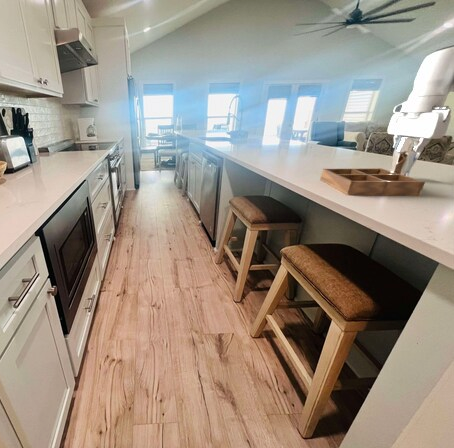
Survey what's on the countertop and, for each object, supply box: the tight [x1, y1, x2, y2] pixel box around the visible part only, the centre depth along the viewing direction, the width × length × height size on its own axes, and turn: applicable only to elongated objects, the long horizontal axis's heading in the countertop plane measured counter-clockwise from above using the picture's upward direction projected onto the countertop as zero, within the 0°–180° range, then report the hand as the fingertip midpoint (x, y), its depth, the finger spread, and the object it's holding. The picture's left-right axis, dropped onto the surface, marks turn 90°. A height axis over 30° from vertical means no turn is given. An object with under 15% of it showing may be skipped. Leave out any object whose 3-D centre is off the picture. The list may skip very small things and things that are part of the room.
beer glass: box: [389, 136, 422, 177], centre depth 86 cm, size 7×7×15 cm
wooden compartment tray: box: [320, 167, 426, 197], centre depth 82 cm, size 19×19×4 cm
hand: (406, 150), depth 85 cm, fingers open, 8 cm apart
